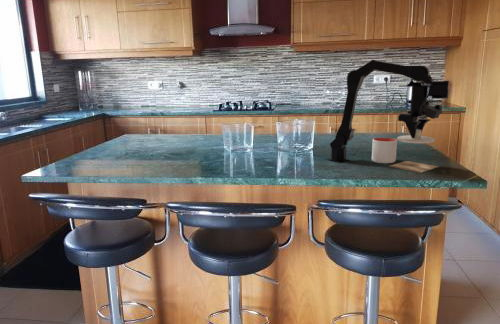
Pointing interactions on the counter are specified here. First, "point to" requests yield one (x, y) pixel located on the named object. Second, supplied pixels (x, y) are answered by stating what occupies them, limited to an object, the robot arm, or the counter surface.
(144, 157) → the counter surface
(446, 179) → the counter surface
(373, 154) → the cup
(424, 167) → the trivet
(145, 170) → the counter surface
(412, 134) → the robot arm
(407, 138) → the lid
